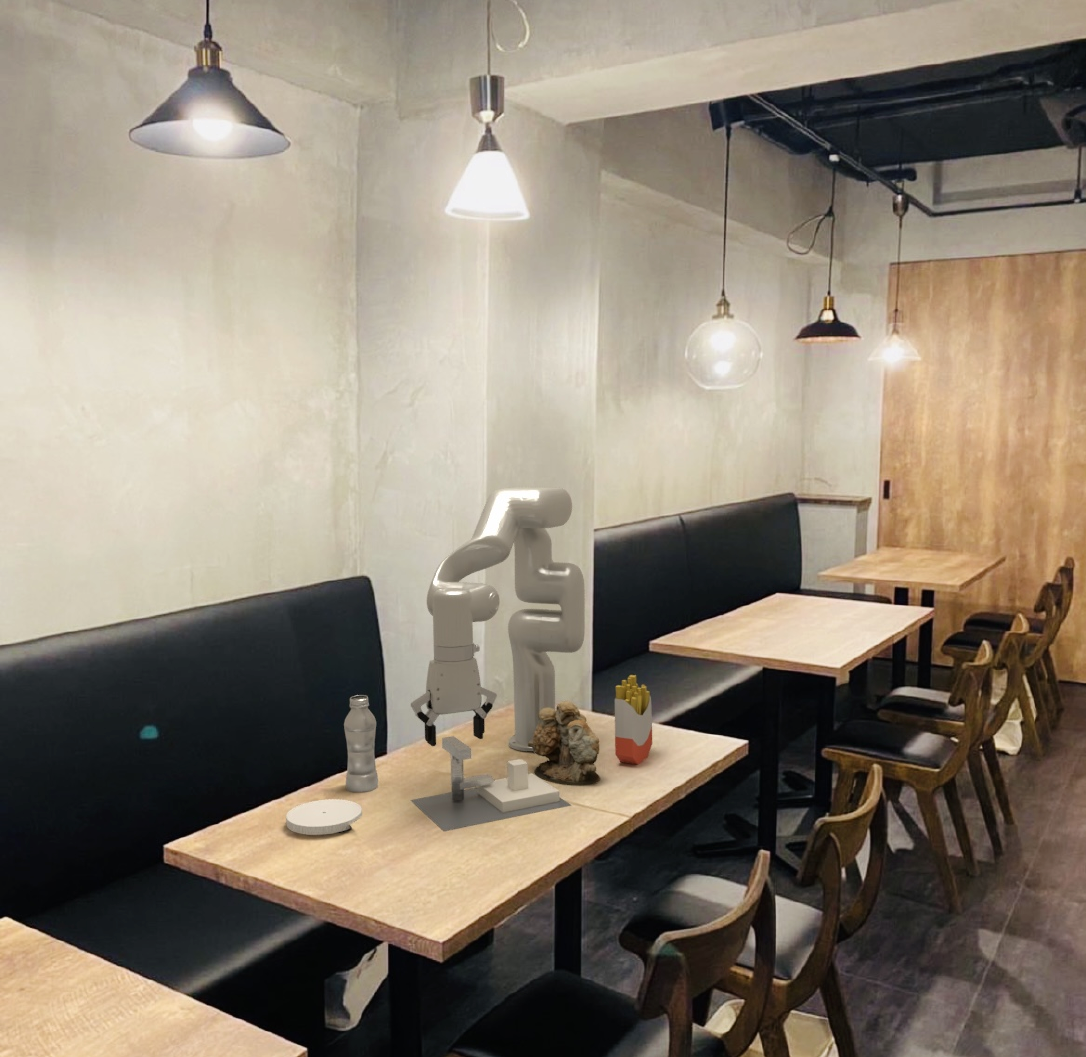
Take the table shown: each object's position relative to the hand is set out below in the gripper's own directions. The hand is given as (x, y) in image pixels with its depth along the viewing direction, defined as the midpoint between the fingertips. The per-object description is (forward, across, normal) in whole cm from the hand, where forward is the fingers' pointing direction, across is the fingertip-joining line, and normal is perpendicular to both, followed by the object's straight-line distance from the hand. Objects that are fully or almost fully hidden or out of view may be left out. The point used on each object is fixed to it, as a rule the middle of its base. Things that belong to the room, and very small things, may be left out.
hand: (455, 740), depth 203 cm
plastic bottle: (+14, +13, -18) cm, 26 cm away
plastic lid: (+14, +24, -6) cm, 29 cm away
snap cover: (+12, -12, +4) cm, 17 cm away
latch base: (+14, -6, +4) cm, 15 cm away
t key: (+12, -3, 0) cm, 12 cm away
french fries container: (+13, -46, -8) cm, 48 cm away
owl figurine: (+13, -26, -4) cm, 29 cm away
